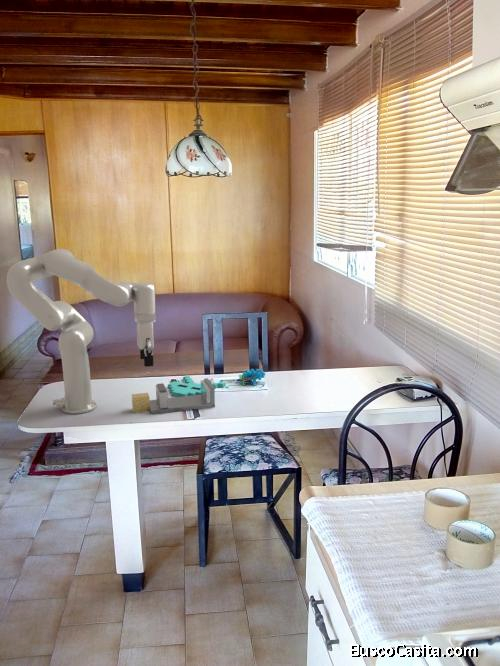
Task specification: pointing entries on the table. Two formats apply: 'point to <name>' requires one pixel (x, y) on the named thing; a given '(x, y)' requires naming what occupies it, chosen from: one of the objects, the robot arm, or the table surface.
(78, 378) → the robot arm
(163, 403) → the sliding jaw
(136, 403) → the brass block
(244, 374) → the blue flower cluster
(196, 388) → the alien figure
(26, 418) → the table surface
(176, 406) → the vise bed
